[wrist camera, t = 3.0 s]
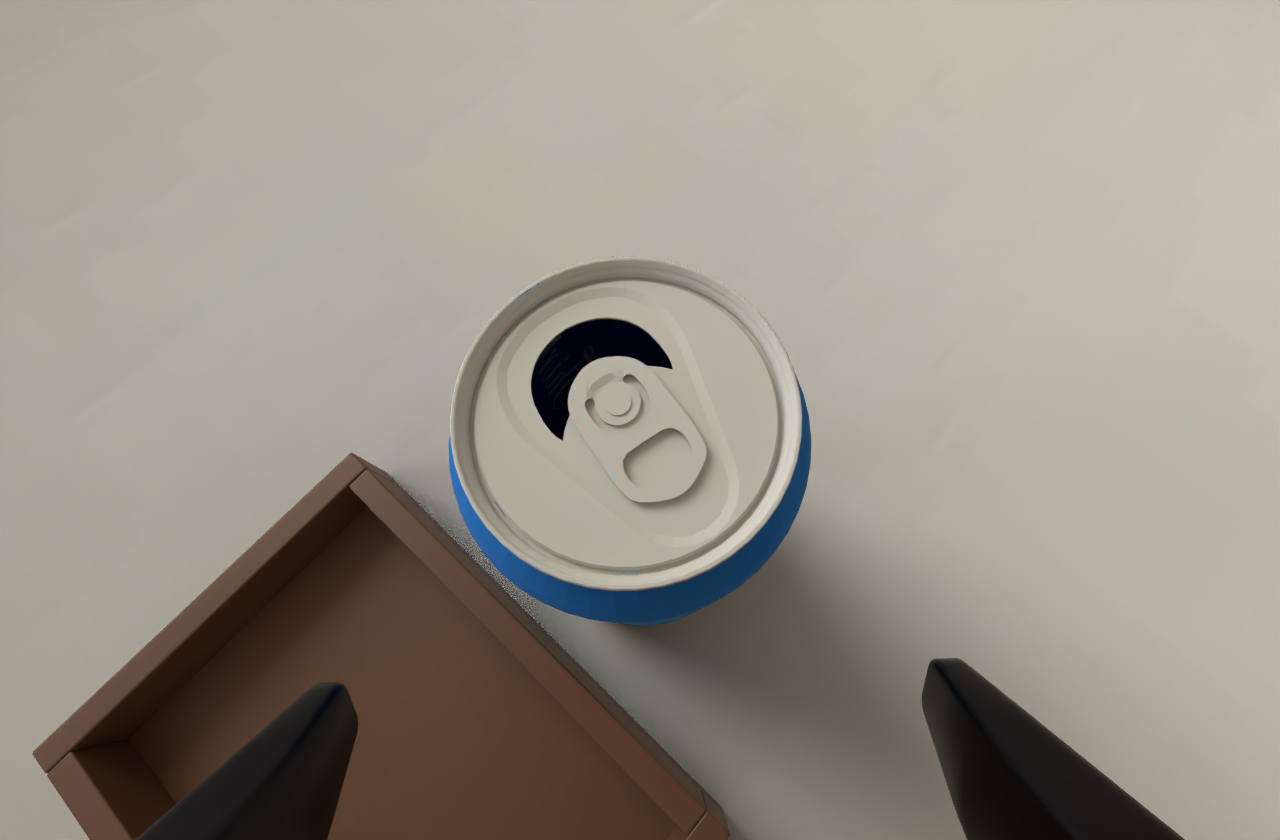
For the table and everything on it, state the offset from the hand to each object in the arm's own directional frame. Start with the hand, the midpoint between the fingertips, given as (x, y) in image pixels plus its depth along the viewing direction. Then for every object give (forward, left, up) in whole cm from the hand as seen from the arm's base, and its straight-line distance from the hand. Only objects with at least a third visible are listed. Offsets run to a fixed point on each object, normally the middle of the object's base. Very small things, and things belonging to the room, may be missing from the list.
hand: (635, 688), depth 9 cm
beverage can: (+3, -3, -11) cm, 12 cm away
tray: (+3, +8, -11) cm, 14 cm away
